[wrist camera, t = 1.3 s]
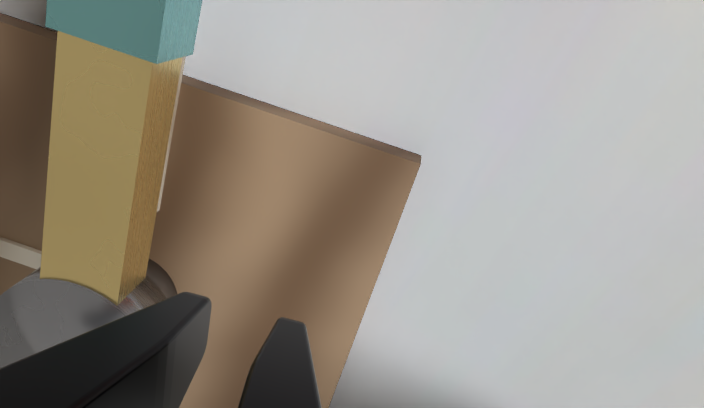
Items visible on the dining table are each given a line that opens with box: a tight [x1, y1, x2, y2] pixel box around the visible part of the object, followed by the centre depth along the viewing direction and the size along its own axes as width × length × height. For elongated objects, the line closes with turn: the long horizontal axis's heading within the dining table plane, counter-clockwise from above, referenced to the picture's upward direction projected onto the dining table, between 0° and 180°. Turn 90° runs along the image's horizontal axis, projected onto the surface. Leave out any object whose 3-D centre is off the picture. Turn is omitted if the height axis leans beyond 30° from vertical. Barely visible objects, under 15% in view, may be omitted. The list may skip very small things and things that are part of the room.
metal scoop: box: [0, 0, 202, 368], centre depth 17 cm, size 16×6×2 cm, turn 163°
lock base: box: [0, 13, 421, 408], centre depth 20 cm, size 20×19×5 cm
